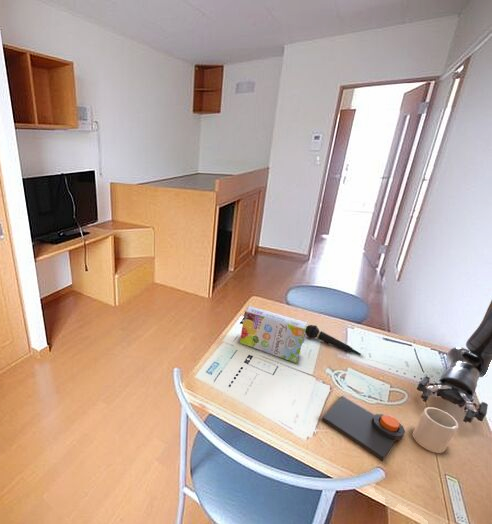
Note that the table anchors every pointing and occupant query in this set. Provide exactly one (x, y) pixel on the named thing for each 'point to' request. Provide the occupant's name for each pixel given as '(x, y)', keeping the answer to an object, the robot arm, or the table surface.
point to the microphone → (327, 338)
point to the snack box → (273, 333)
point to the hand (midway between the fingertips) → (444, 409)
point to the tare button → (389, 423)
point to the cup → (435, 429)
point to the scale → (362, 427)
